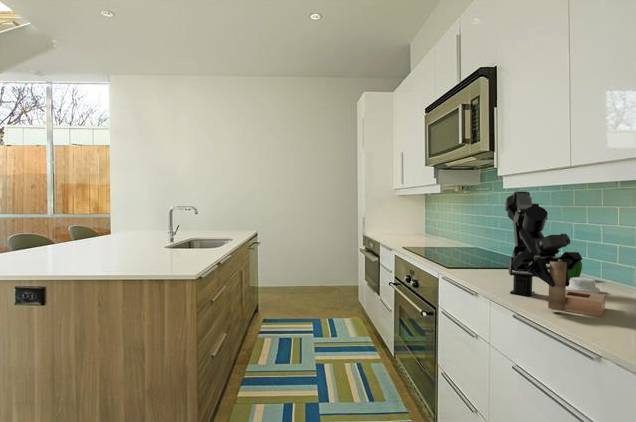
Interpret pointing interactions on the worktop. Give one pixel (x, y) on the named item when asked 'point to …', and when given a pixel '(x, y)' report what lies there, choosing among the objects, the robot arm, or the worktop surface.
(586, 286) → the mechanical component
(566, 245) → the robot arm
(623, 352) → the worktop surface
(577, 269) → the bell pepper
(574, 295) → the hollow square frame
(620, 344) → the worktop surface
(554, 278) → the pin
